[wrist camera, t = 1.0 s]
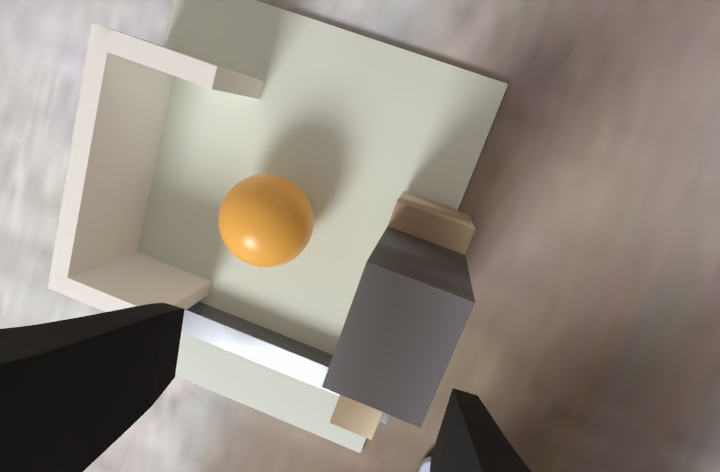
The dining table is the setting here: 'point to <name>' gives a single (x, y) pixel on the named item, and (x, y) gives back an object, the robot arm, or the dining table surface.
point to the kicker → (403, 317)
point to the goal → (124, 172)
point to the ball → (266, 220)
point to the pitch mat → (301, 177)
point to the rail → (259, 345)
